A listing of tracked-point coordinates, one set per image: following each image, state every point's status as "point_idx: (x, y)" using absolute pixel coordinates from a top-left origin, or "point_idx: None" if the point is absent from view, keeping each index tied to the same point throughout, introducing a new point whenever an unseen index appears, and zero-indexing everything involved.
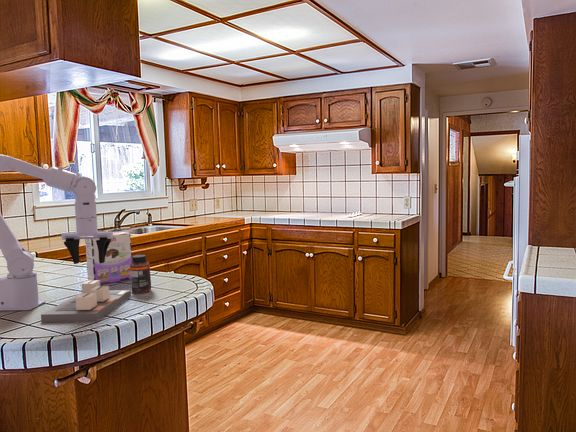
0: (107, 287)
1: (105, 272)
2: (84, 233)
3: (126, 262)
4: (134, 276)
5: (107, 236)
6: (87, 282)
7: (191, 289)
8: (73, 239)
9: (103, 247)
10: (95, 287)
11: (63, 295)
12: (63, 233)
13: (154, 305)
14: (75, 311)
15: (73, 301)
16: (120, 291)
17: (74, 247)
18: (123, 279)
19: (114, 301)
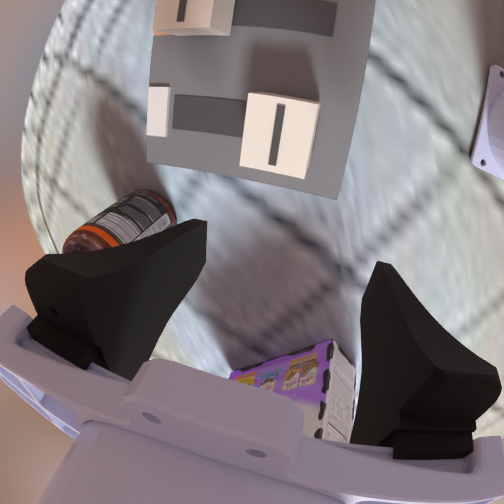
0: (155, 14)
1: (292, 379)
2: (170, 450)
3: None
4: (120, 217)
5: (14, 328)
6: (292, 127)
7: (47, 205)
8: (400, 440)
9: (91, 253)
10: (208, 8)
11: (423, 250)
12: (492, 497)
13: (75, 51)
14: None
15: (327, 12)
16: (175, 145)
17: (392, 362)
18: (253, 366)
19: None
